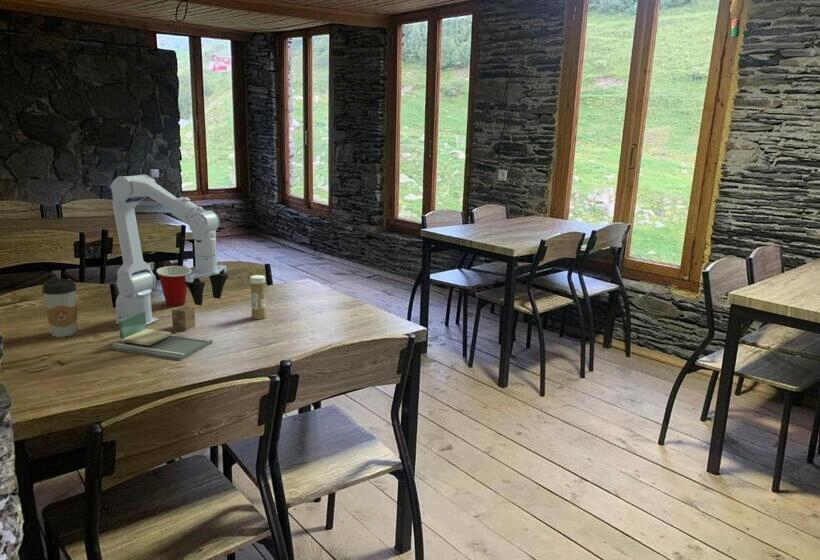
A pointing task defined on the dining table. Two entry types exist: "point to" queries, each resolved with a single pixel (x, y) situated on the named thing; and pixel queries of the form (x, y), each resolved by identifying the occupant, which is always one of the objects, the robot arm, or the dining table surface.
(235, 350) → the dining table surface
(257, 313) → the sprinkles bottle
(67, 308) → the coffee cup
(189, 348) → the track board
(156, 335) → the sliding tray
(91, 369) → the dining table surface
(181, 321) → the walnut block
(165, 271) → the plastic cup
